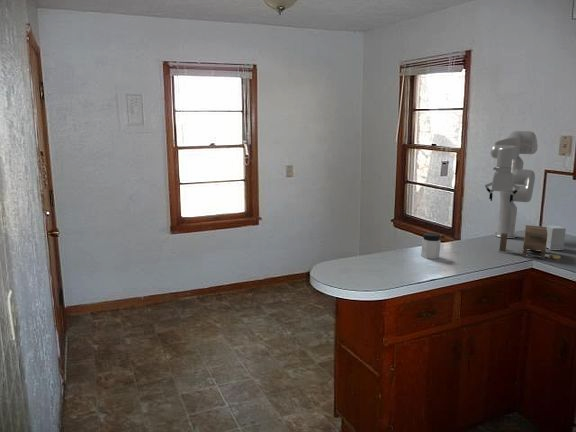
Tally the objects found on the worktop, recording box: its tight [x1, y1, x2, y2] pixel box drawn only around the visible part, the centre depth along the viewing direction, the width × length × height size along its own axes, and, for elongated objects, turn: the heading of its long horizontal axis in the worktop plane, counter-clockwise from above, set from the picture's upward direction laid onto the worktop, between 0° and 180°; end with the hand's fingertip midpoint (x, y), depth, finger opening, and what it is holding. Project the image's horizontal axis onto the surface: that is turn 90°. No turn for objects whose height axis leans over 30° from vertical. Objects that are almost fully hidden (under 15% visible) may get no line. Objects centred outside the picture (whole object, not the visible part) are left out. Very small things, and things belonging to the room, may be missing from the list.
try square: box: [497, 233, 551, 259], centre depth 258 cm, size 5×24×10 cm, turn 64°
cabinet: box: [522, 224, 548, 260], centre depth 258 cm, size 19×10×14 cm, turn 154°
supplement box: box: [545, 225, 567, 251], centre depth 269 cm, size 7×7×13 cm
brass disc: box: [549, 253, 561, 260], centre depth 253 cm, size 5×5×2 cm
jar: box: [420, 231, 441, 260], centre depth 250 cm, size 9×8×12 cm
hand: (500, 201), depth 267 cm, fingers open, 9 cm apart
